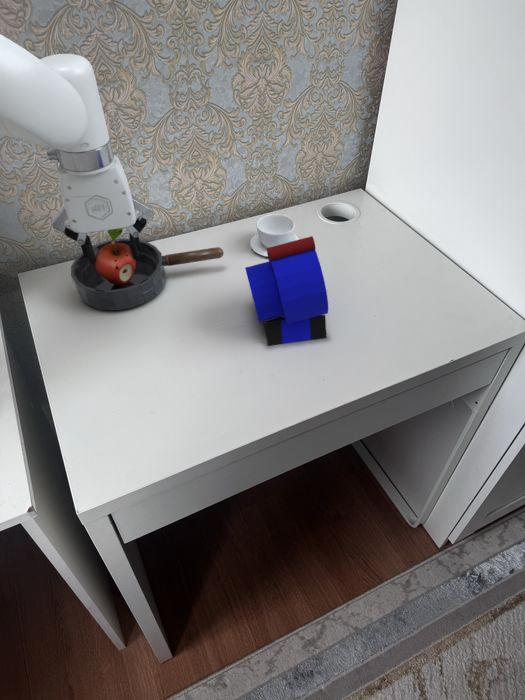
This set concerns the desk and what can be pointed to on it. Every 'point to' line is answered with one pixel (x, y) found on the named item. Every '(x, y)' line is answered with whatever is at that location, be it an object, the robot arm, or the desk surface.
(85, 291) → the pan
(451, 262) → the desk surface
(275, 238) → the teacup
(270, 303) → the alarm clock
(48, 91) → the robot arm
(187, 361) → the desk surface
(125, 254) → the apple
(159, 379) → the desk surface
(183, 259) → the pan handle
